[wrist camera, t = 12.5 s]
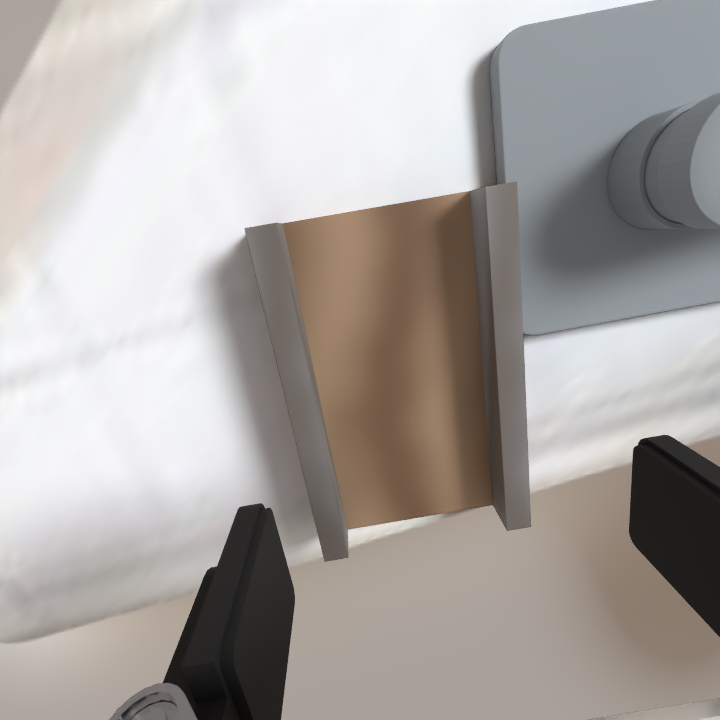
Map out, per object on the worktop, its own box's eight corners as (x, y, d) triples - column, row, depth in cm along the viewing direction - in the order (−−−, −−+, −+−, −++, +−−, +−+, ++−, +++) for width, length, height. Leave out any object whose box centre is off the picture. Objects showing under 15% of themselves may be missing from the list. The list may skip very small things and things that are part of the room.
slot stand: (495, 187, 18) (524, 179, 15) (512, 489, 23) (537, 525, 20) (252, 229, 18) (236, 229, 15) (321, 521, 23) (318, 562, 20)
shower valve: (968, 297, 15) (564, 370, 15) (806, 279, 20) (506, 334, 20) (1097, -150, 11) (555, -46, 11) (856, -30, 16) (487, 41, 16)
